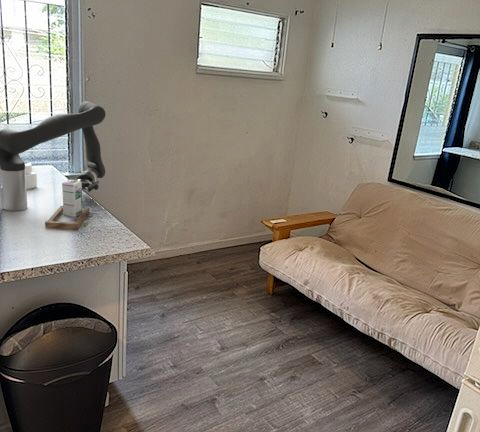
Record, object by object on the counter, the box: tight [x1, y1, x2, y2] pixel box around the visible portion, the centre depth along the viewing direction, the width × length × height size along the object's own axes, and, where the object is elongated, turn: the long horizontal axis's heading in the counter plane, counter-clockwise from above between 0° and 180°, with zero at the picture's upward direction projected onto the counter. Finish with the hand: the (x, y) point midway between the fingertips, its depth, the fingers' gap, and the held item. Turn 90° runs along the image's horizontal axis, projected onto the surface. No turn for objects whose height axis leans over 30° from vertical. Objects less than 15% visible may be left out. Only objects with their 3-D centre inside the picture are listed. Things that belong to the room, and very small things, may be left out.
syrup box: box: [61, 179, 83, 218], centre depth 187 cm, size 6×6×14 cm
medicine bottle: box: [24, 161, 38, 191], centre depth 214 cm, size 7×7×12 cm
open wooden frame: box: [44, 205, 94, 231], centre depth 183 cm, size 14×22×2 cm, turn 6°
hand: (78, 189), depth 197 cm, fingers open, 8 cm apart
